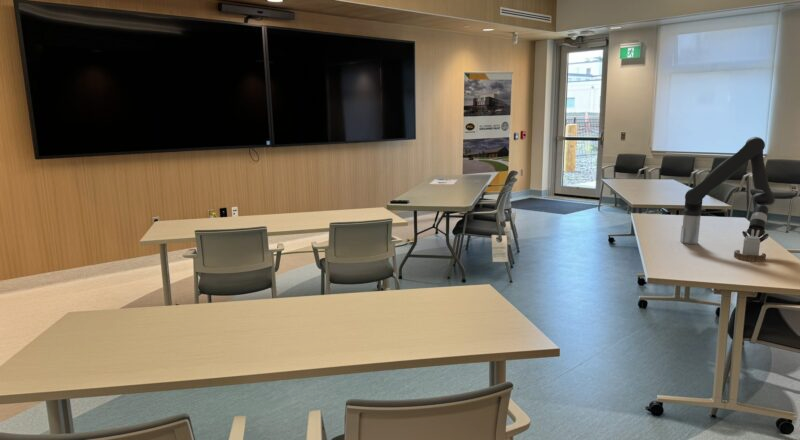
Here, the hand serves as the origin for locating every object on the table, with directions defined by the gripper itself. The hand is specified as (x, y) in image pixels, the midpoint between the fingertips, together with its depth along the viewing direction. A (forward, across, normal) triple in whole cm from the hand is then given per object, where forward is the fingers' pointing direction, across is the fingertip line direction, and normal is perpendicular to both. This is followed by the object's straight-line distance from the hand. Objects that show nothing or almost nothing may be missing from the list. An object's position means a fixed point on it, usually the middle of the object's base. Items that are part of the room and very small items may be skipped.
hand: (752, 247), depth 299 cm
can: (+7, 0, +1) cm, 7 cm away
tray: (+7, 0, +1) cm, 7 cm away
